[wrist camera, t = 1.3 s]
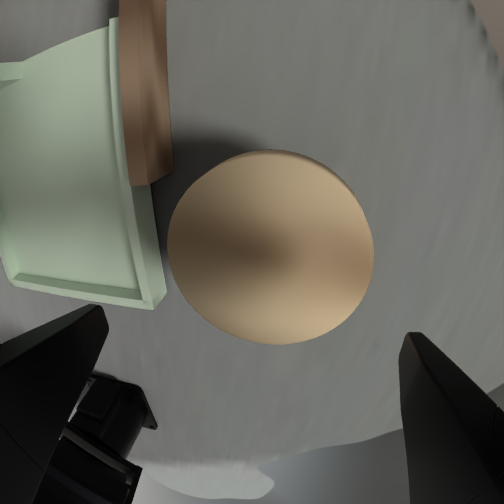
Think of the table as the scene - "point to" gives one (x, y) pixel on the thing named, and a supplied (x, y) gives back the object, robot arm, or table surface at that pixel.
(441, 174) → the table surface
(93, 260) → the tray
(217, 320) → the tan round disc
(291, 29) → the table surface
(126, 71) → the brown wooden frame
